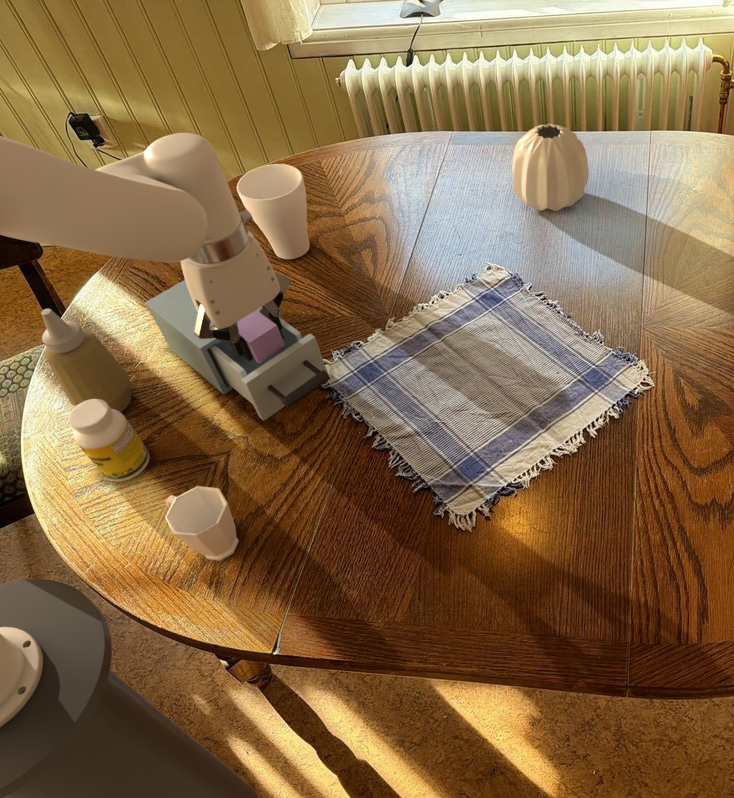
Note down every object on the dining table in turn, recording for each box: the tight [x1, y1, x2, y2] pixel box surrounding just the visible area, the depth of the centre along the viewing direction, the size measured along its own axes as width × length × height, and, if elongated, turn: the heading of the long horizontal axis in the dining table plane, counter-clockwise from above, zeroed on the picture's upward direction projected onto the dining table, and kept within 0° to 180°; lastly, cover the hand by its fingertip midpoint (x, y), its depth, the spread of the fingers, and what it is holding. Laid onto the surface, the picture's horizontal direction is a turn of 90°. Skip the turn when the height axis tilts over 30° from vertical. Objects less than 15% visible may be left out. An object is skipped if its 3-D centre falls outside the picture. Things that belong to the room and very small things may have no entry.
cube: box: [237, 310, 285, 363], centre depth 102 cm, size 4×5×4 cm
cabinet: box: [144, 279, 284, 395], centre depth 111 cm, size 15×13×10 cm
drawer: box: [207, 317, 331, 422], centre depth 105 cm, size 18×11×8 cm, turn 49°
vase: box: [511, 123, 590, 212], centre depth 133 cm, size 14×14×13 cm
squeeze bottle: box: [40, 308, 132, 413], centre depth 101 cm, size 8×8×18 cm
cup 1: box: [164, 485, 240, 561], centre depth 90 cm, size 7×10×8 cm
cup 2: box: [236, 163, 311, 260], centre depth 125 cm, size 10×10×14 cm
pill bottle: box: [68, 399, 150, 483], centre depth 96 cm, size 6×6×11 cm
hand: (260, 344), depth 103 cm, fingers closed on cube, 4 cm apart
